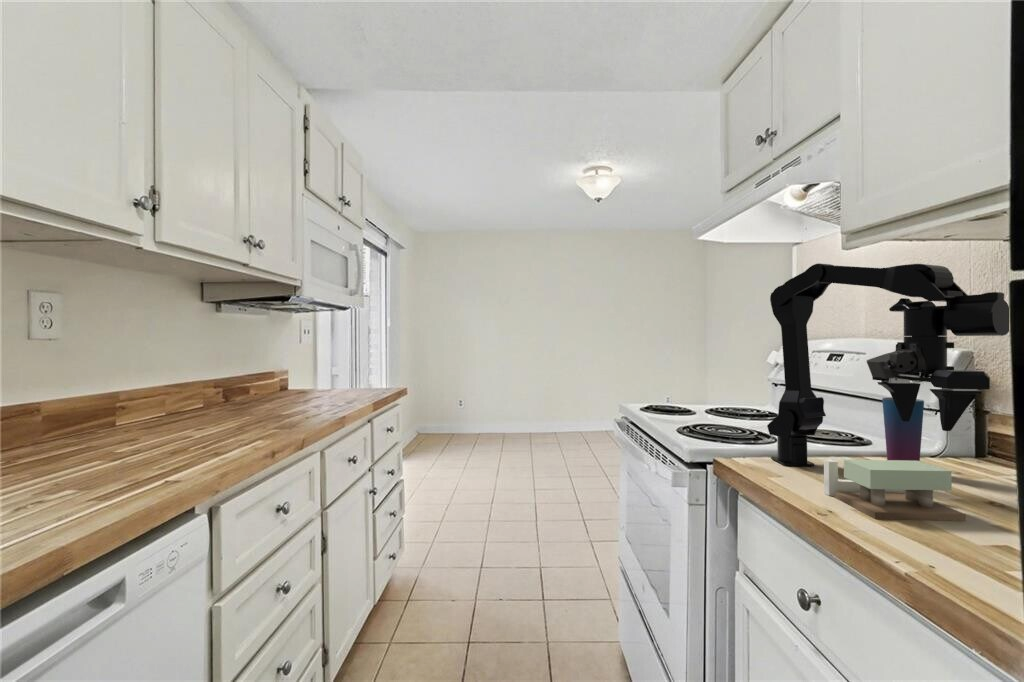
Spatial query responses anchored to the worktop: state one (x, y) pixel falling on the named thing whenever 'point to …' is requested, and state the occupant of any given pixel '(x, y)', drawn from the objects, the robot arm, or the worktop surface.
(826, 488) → the u-shaped frame
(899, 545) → the worktop surface
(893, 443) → the cup
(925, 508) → the peg stand
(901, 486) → the board
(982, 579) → the worktop surface
